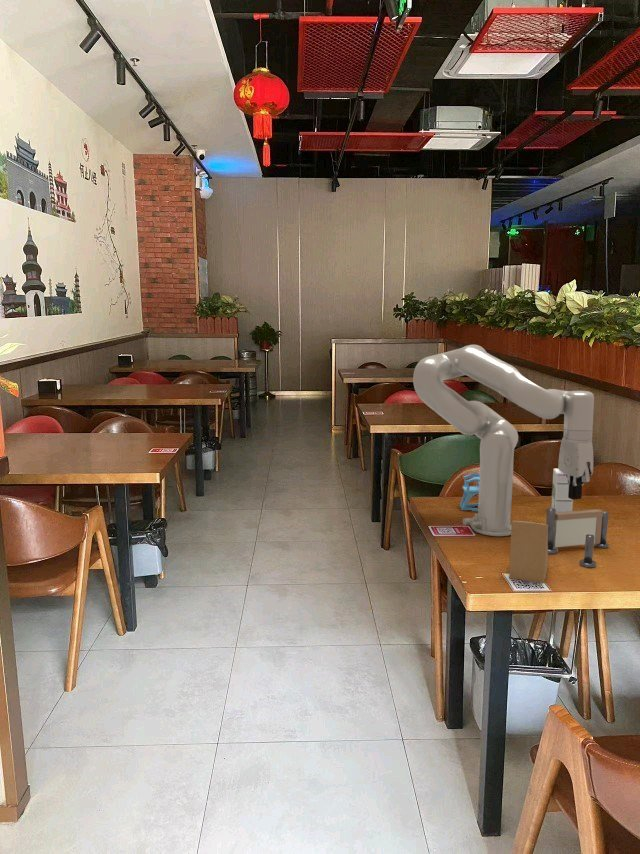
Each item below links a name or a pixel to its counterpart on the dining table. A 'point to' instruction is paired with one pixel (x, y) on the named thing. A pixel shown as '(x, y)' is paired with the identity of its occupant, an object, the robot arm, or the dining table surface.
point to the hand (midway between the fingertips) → (574, 498)
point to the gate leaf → (577, 527)
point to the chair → (470, 492)
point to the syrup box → (560, 492)
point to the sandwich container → (528, 551)
